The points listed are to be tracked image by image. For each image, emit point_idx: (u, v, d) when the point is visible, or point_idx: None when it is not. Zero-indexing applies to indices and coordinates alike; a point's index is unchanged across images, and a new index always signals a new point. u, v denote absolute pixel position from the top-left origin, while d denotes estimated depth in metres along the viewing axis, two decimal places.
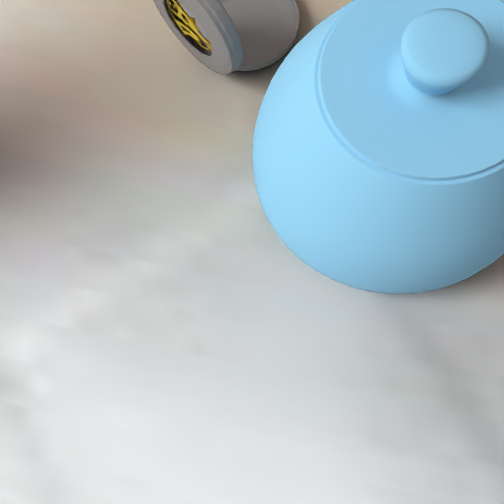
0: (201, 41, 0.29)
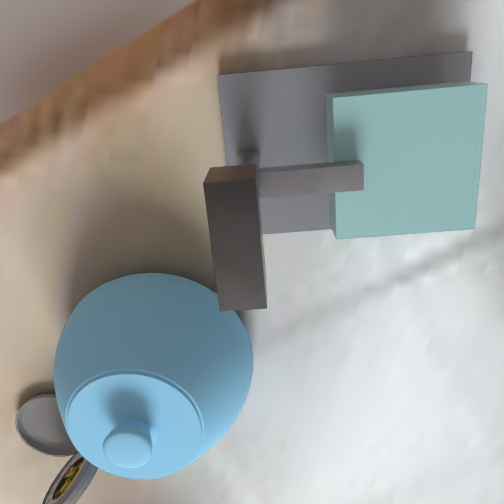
0: (76, 457, 0.42)
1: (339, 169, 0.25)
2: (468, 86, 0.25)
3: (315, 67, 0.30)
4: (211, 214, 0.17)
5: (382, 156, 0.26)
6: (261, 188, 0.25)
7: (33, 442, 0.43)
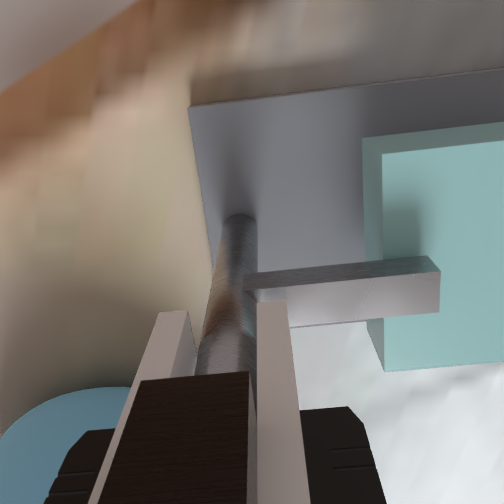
0: None
1: (398, 280, 0.14)
2: None
3: (339, 91, 0.19)
4: None
5: (465, 247, 0.15)
6: None
7: None
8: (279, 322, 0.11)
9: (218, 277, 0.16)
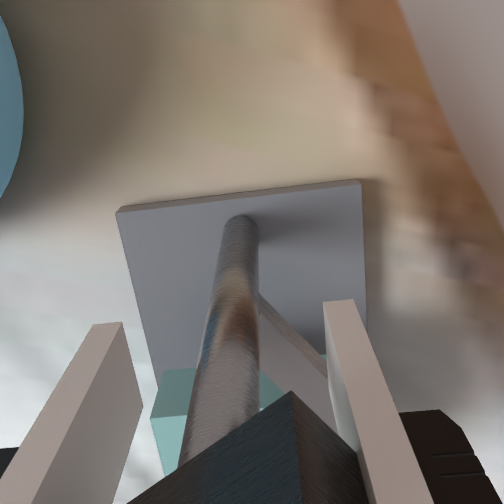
0: None
1: None
2: None
3: (364, 309, 0.23)
4: None
5: None
6: None
7: None
8: (352, 322, 0.11)
9: (241, 276, 0.15)
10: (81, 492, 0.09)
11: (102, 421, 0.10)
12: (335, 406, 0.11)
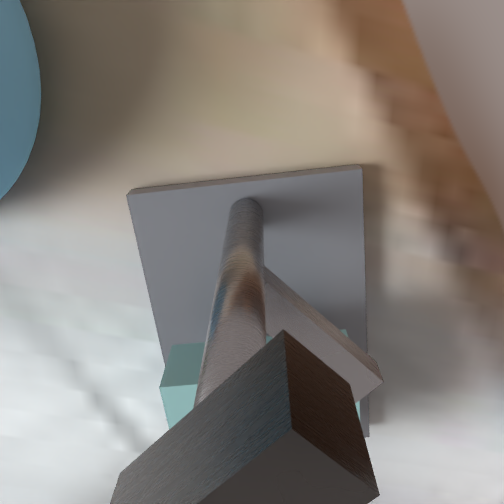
0: None
1: (356, 365, 0.17)
2: None
3: (364, 290, 0.24)
4: (242, 478, 0.07)
5: None
6: None
7: None
8: None
9: (245, 250, 0.16)
10: None
11: None
12: None
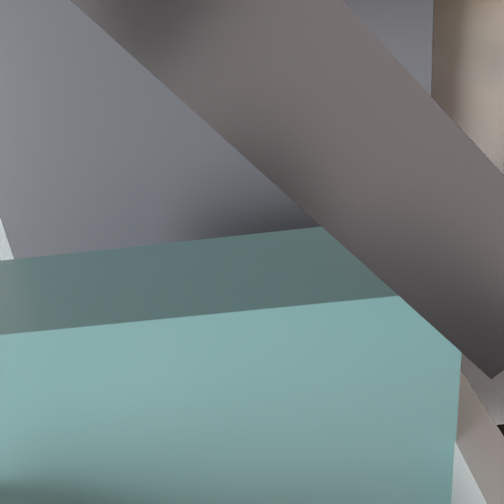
0: None
1: None
2: None
3: None
4: None
5: (242, 457, 0.08)
6: None
7: None
8: None
9: None
10: None
11: None
12: None
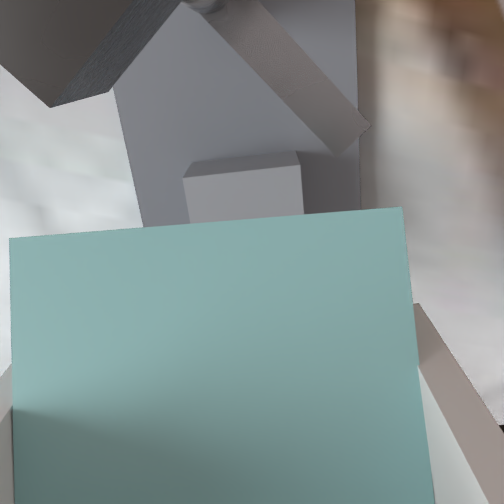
0: None
1: (340, 100, 0.14)
2: None
3: (356, 105, 0.22)
4: None
5: (245, 352, 0.09)
6: (224, 10, 0.14)
7: None
8: (424, 328, 0.10)
9: None
10: None
11: None
12: None
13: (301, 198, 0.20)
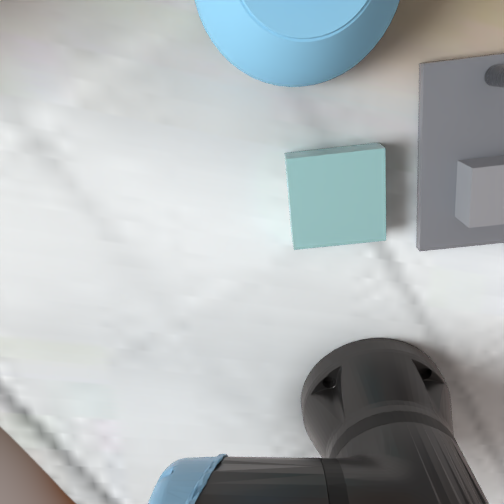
0: None
1: None
2: (385, 229, 0.41)
3: None
4: None
5: (345, 184, 0.39)
6: None
7: None
8: None
9: None
10: None
11: None
12: None
13: None
